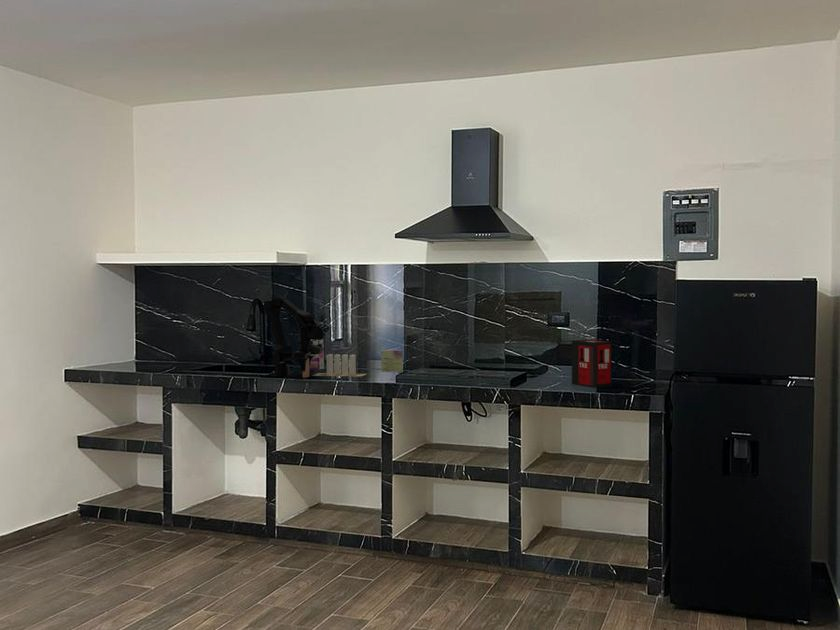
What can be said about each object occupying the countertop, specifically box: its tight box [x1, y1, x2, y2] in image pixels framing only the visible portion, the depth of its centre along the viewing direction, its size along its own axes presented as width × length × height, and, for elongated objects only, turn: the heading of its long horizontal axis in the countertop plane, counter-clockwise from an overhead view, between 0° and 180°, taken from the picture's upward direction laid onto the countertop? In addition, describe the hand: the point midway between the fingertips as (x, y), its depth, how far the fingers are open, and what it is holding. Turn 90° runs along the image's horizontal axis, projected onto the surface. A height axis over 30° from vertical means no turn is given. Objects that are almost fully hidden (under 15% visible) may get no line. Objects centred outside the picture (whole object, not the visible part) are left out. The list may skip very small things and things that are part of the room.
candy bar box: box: [309, 338, 325, 371], centre depth 444 cm, size 11×5×16 cm, turn 62°
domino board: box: [311, 372, 367, 378], centre depth 412 cm, size 26×10×1 cm, turn 77°
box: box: [380, 349, 403, 374], centre depth 426 cm, size 10×6×12 cm, turn 100°
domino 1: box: [302, 358, 310, 379], centre depth 405 cm, size 2×5×10 cm, turn 167°
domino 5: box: [348, 354, 357, 377], centre depth 410 cm, size 2×5×10 cm, turn 167°
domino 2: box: [325, 353, 334, 375], centre depth 413 cm, size 2×5×10 cm, turn 167°
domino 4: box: [341, 353, 349, 377], centre depth 411 cm, size 2×5×10 cm, turn 167°
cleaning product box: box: [571, 339, 613, 389], centre depth 372 cm, size 16×9×20 cm, turn 30°
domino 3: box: [333, 353, 342, 375], centre depth 412 cm, size 2×5×10 cm, turn 167°
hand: (305, 370), depth 405 cm, fingers closed on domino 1, 5 cm apart
